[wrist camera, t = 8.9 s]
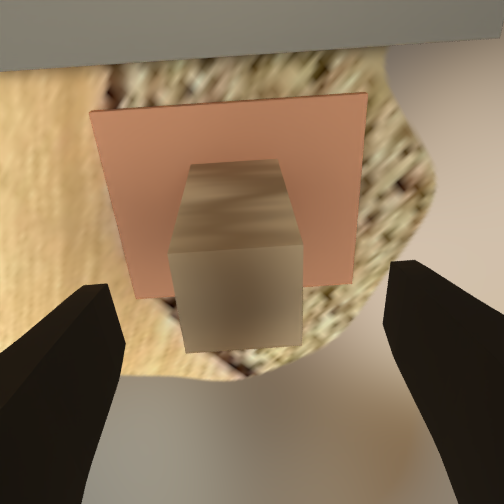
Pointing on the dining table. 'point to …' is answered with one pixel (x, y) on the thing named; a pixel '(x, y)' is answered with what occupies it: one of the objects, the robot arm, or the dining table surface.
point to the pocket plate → (225, 28)
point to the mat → (230, 150)
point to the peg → (237, 259)
